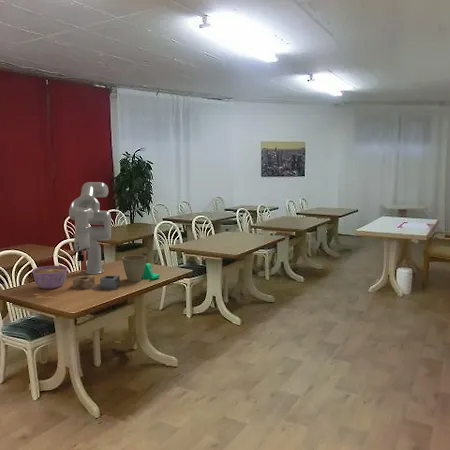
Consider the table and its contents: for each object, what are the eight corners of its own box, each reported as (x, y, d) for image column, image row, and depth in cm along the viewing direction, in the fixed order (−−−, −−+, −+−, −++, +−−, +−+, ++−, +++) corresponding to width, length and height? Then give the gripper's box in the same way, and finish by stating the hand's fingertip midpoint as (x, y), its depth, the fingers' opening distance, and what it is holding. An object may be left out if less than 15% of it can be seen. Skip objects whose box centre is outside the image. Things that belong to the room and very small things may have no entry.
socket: (100, 289, 276) (100, 279, 275) (105, 284, 285) (104, 275, 284) (115, 289, 276) (115, 279, 275) (119, 285, 285) (119, 275, 284)
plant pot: (122, 285, 288) (121, 260, 286) (123, 279, 303) (122, 255, 300) (146, 284, 291) (146, 259, 288) (146, 278, 305) (146, 254, 303)
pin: (79, 270, 279) (78, 250, 277) (82, 268, 282) (82, 249, 280) (84, 270, 278) (83, 251, 276) (87, 269, 281) (87, 249, 279)
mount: (73, 288, 277) (72, 280, 276) (78, 284, 286) (78, 276, 285) (89, 288, 277) (89, 280, 276) (94, 284, 286) (94, 276, 285)
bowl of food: (75, 286, 285) (74, 268, 283) (48, 294, 268) (47, 275, 266) (53, 281, 295) (52, 264, 293) (25, 289, 278) (24, 270, 276)
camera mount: (160, 278, 306) (160, 263, 305) (152, 281, 300) (152, 265, 298) (147, 275, 313) (146, 260, 311) (139, 278, 307) (138, 262, 305)
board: (70, 290, 276) (70, 288, 276) (78, 285, 288) (78, 283, 288) (117, 292, 274) (117, 290, 274) (122, 286, 286) (122, 284, 286)
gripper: (84, 227, 285) (85, 256, 288) (68, 232, 270) (69, 262, 273) (95, 228, 283) (96, 257, 286) (79, 232, 268) (80, 263, 271)
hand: (83, 259), depth 279 cm, fingers closed on pin, 3 cm apart
